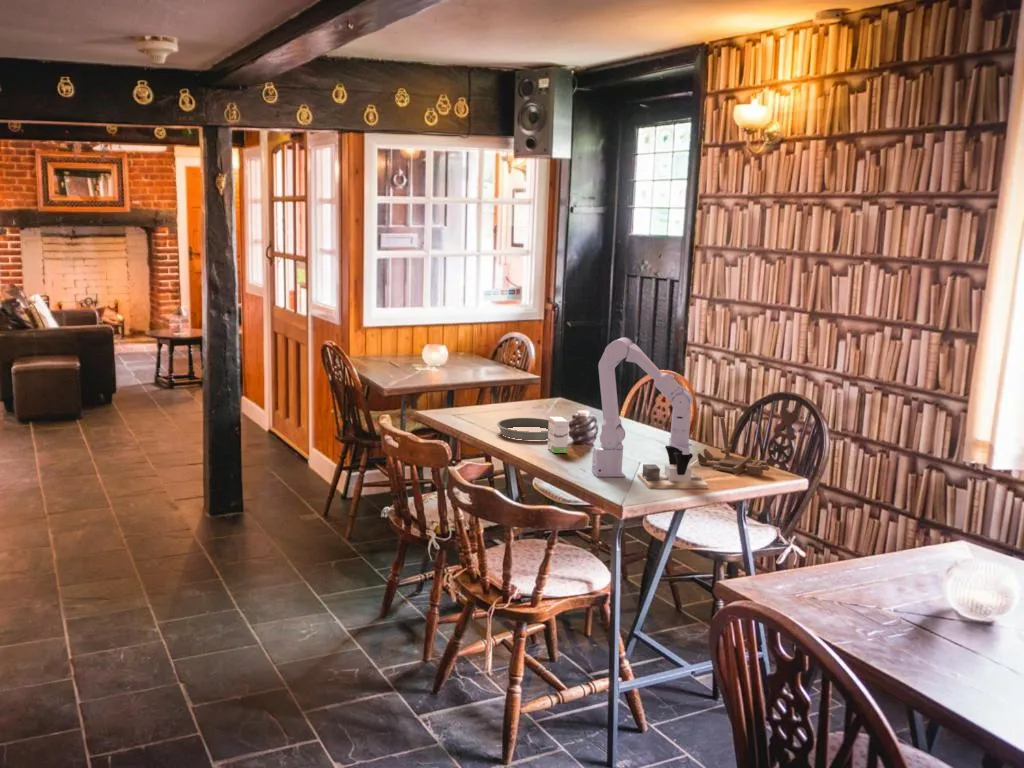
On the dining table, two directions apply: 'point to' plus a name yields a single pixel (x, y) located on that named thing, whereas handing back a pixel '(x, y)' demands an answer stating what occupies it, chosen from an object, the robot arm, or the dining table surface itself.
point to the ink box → (557, 434)
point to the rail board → (660, 480)
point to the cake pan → (524, 423)
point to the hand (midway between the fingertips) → (677, 471)
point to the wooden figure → (732, 459)
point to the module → (673, 476)
